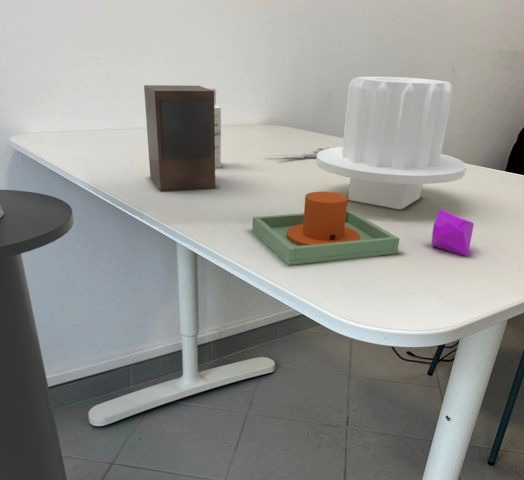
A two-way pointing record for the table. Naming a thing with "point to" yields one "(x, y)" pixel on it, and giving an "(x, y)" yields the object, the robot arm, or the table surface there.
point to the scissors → (310, 154)
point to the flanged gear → (393, 140)
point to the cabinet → (180, 136)
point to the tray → (369, 244)
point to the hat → (323, 221)
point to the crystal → (452, 233)
